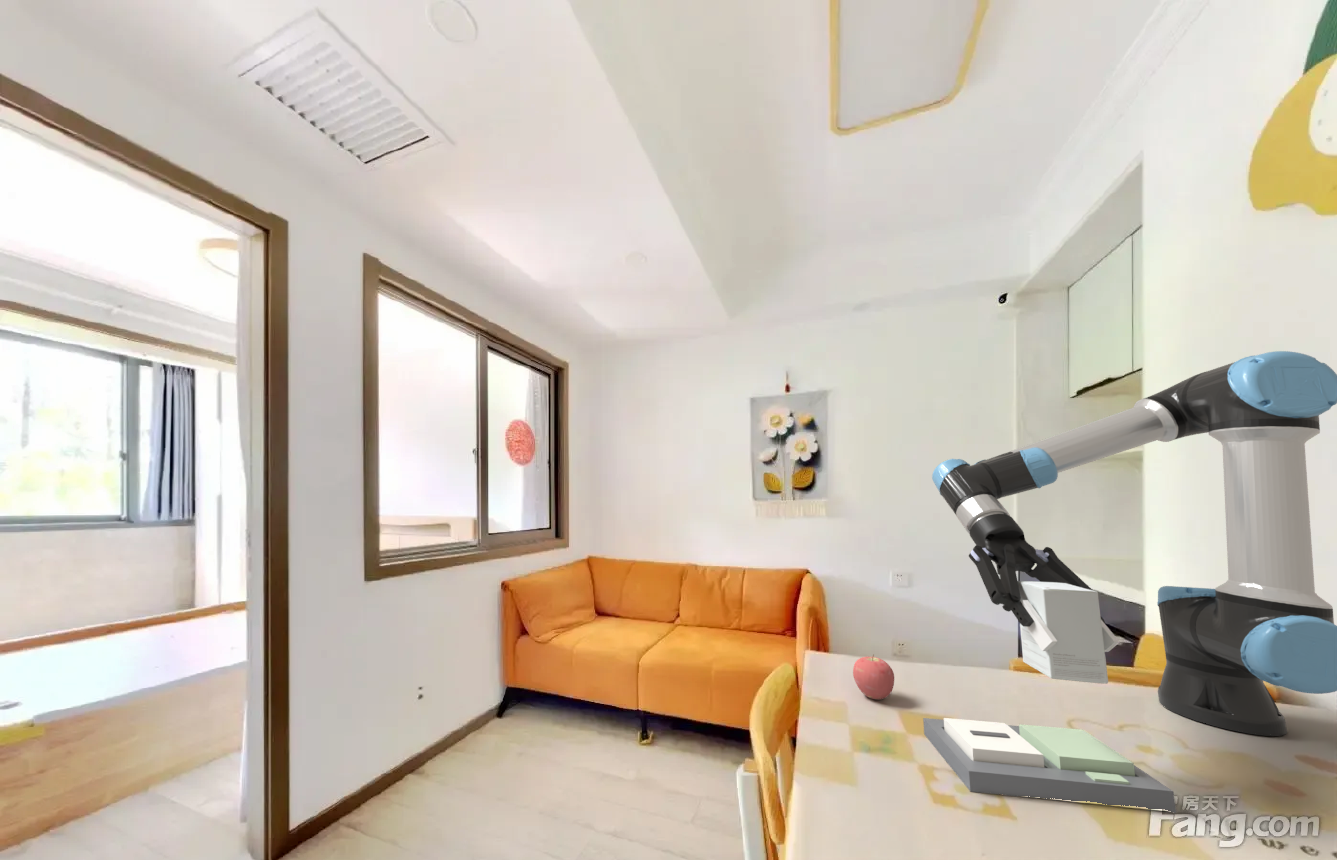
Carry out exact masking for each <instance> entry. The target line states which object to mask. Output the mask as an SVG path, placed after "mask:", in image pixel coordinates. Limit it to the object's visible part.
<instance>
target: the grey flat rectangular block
mask: <svg viewBox="0 0 1337 860" xmlns="http://www.w3.org/2000/svg"><path fill="white" fill-rule="evenodd" d="M922 719H923V734H924V736H925V737H926V738H927V740H928V741H929V742H930V744H932V745H933V747H934V748H935V750H936V751H937V752H938V754H939V755H940V756H941V757H942V758H943V760H944V761H945V762H946V763H947V764H948V766H949V767H950V768H951V770H952V771H953V772H954V773H955V774H956V776H958V778H959V779H960V781H961V782H962V783H963V784H964V786H965V787H966V788H967V789H968V790H969V791H970V793H971V792H973V793H980V794H981V793H982V794H991V795H992V794H993V795H999V794H1001V795H1000V796H1009V797H1010V796H1011V797H1018V796H1028V797H1029V796H1030V797H1040V798H1045V799H1044V800H1047V799H1050V798H1051V799H1052V798H1053V799H1054V798H1055V799H1062V800H1071V801H1086V802H1087V801H1090V802H1097V803H1102V804H1105V805H1106V804H1107V805H1121V806H1122V805H1123V806H1124V805H1125V806H1129V805H1130V806H1136V807H1137V806H1138V807H1146V808H1148V809H1165V810H1168V811H1171V812H1174V813H1173V814H1177V808H1176V807H1177V806H1176V801H1175V793H1174V790H1172V789H1171V788H1169V787H1168V786H1167V785H1165V784H1164V783H1162V782H1160V781H1158V779H1156V778H1154V777H1153V776H1151V775H1150V774H1149V773H1146V772H1145V771H1144V770H1142V769H1141V768H1140V767H1138V766H1136V765H1135V764H1134V771H1135V776H1124V775H1117V774H1107V773H1096V772H1086V771H1085V772H1083V771H1072V770H1062V769H1059V768H1057V767H1056V766H1055V765H1054V764H1053V763H1051V762H1050V761H1049V760H1048V759H1047V758H1045V757H1044V756H1043V754H1042V753H1040V752H1039V751H1038V750H1037V749H1036V748H1034V747H1033V746H1032V745H1031V744H1030V743H1028V742H1027V741H1026V740H1025V739H1024V738H1022V737H1021V736H1020V731H1019V725H1013V724H1012V725H1009V724H1007V723H1006V722H996V721H986V720H985V721H984V720H975V719H974V720H973V719H972V720H971V719H961V718H951V717H949V718H948V717H943V719H939V718H927V717H923V718H922ZM1002 794H1003V795H1002ZM1028 797H1027V798H1028ZM1046 798H1047V799H1046Z"/></svg>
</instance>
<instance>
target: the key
mask: <svg viewBox="0 0 1337 860" xmlns="http://www.w3.org/2000/svg"><path fill="white" fill-rule="evenodd" d="M1018 726H1019V731H1020V736H1021V737H1022V738H1024V739H1025V740H1026V741H1027V742H1028V743H1030V744H1031V745H1032V746H1033V747H1034V748H1036V749H1037V750H1038V751H1039V752H1040V753H1042V754H1043V756H1044V757H1045V758H1047V759H1048V760H1049V761H1050V762H1051V763H1053V764H1054V765H1055V766H1056V767H1057V768H1059V769H1062V770H1072V771H1083V772H1085V771H1086V772H1096V773H1107V774H1117V775H1124V776H1135V771H1134V765H1135V764H1134V762H1132V760H1129V759H1128V758H1127V757H1125V756H1123V755H1122V754H1120V753H1119V752H1118V751H1116V750H1114V749H1113V748H1112V747H1110V746H1108V745H1107V744H1105V742H1103V741H1101V740H1100V739H1098V738H1096V737H1095V736H1094V735H1092V734H1090V733H1089V732H1087V731H1086V730H1085V729H1080V728H1079V729H1078V728H1067V727H1055V726H1046V725H1045V726H1044V725H1032V724H1031V725H1030V724H1020V723H1019V724H1018Z"/></svg>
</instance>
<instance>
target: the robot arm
mask: <svg viewBox="0 0 1337 860" xmlns="http://www.w3.org/2000/svg"><path fill="white" fill-rule="evenodd" d="M1335 405H1337V373H1336V372H1335V371H1334V369H1332V368H1331V367H1330V366H1329V365H1328V364H1327V363H1325V362H1321V361H1319V360H1317V358H1316V357H1313V356H1311V355H1309V354H1304V353H1301V352H1296V351H1288V350H1287V351H1286V350H1285V351H1284V350H1283V351H1282V350H1278V351H1277V350H1276V351H1269V352H1264V353H1260V354H1256V355H1249V356H1244V357H1243V358H1239V359H1238V360H1236V361H1234V362H1231V363H1228V364H1225V365H1222V366H1220V367H1219V366H1218V367H1216V368H1213V369H1211V370H1206V371H1204V372H1200V373H1198V374H1195V375H1192V376H1191V377H1189V378H1186V379H1184V380H1182V381H1180V382H1178V383H1175V384H1174V385H1172V386H1169V387H1168V388H1166V389H1164V390H1161V391H1159V392H1157V393H1154V394H1152V395H1149V396H1147V397H1144V398H1141V399H1139V400H1137V401H1136V402H1135V403H1134V405H1133V407H1131V408H1128V409H1124V410H1123V411H1120V412H1116V413H1113V414H1112V415H1109V416H1106V417H1105V416H1104V417H1103V418H1100V419H1097V420H1095V421H1094V420H1093V421H1091V422H1089V423H1086V424H1083V425H1080V426H1077V427H1074V428H1072V429H1069V430H1067V431H1066V430H1065V431H1063V432H1059V433H1058V434H1055V435H1052V436H1049V437H1047V438H1044V439H1042V440H1038V441H1035V442H1032V443H1030V444H1027V445H1024V446H1022V447H1018V448H1016V449H1013V450H1011V451H1008V452H1005V453H1001V454H999V455H996V456H992V457H991V458H987V459H982V460H979V461H977V462H976V463H973V464H972V465H971V464H970V463H968V462H967V461H965V460H963V459H962V458H950V459H947V460H945V461H942V462H940V463H939V464H938V465H937V466H936V467H935V468H934V470H933V472H932V475H931V478H932V481H933V483H934V485H935V487H936V488H937V490H938V492H939V495H940V496H941V497H942V498H943V500H945V502H946V503H947V505H948V506H949V508H950V509H951V510H952V512H953V513H954V514H955V516H956V518H957V519H958V520H959V522H960V523H961V525H962V526H963V528H964V530H965V531H966V532H967V533H968V534H969V536H970V538H971V540H972V541H973V542H974V544H975V545H974V547H973V548H972V549H971V551H970V552H969V554H968V557H969V559H970V561H972V562H973V565H975V566H976V568H977V572H978V573H979V575H980V578H981V581H982V583H983V585H984V587H985V589H986V592H987V594H988V596H989V598H990V601H991V603H992V604H993V605H996V606H999V605H1002V609H1003V610H1004V611H1006V612H1012V614H1013V616H1014V617H1015V618H1016V620H1017V621H1018V622H1019V625H1020V624H1021V625H1022V626H1026V628H1027V629H1028V631H1029V632H1030V634H1031V635H1032V637H1033V638H1034V640H1035V641H1036V642H1037V644H1038V645H1039V647H1040V648H1041V650H1042V651H1048V650H1049V649H1050V648H1051V647H1052V646H1053V645H1054V644H1055V643H1056V642H1057V640H1056V638H1055V637H1054V636H1053V634H1052V633H1051V631H1050V630H1049V629H1048V627H1047V626H1046V625H1045V623H1044V622H1043V620H1042V619H1041V618H1040V616H1039V615H1038V613H1037V612H1036V611H1035V609H1034V608H1033V606H1032V605H1031V604H1030V602H1029V601H1028V600H1023V601H1022V602H1021V601H1020V600H1021V596H1020V591H1019V586H1018V581H1019V580H1018V577H1017V572H1023V573H1024V574H1026V575H1027V576H1029V577H1030V578H1035V579H1036V580H1038V582H1056V583H1067V584H1070V585H1074V586H1078V587H1081V588H1085V589H1089V590H1093V589H1092V588H1091V587H1090V586H1089V585H1088V584H1087V583H1086V582H1084V580H1083V579H1081V578H1080V577H1079V576H1078V575H1077V574H1076V573H1075V572H1074V571H1073V570H1072V569H1071V568H1070V567H1068V566H1067V565H1066V563H1064V562H1063V561H1062V560H1061V559H1060V558H1059V557H1058V556H1057V554H1056V553H1055V551H1054V550H1053V549H1052V548H1051V547H1048V546H1045V547H1044V548H1043V549H1038V548H1036V547H1034V546H1033V545H1031V544H1030V543H1028V542H1027V540H1026V538H1025V533H1024V531H1023V529H1022V528H1021V527H1020V525H1019V524H1018V523H1017V522H1016V520H1015V519H1014V518H1013V517H1012V516H1011V515H1010V514H1009V512H1008V511H1007V509H1006V508H1005V507H1004V505H1003V504H1002V503H1001V502H1000V501H999V499H1001V498H1005V497H1009V496H1012V495H1016V494H1020V493H1024V492H1027V491H1033V490H1035V489H1041V488H1042V487H1045V486H1048V485H1051V484H1054V483H1055V482H1056V481H1058V478H1059V477H1058V476H1059V473H1062V472H1065V471H1068V470H1071V469H1074V468H1077V467H1080V466H1083V465H1086V464H1089V463H1093V462H1096V461H1098V460H1102V459H1104V458H1107V457H1110V456H1114V455H1116V454H1120V453H1123V452H1126V451H1128V450H1131V449H1135V448H1138V447H1140V446H1143V445H1147V444H1149V443H1152V442H1156V441H1159V442H1163V443H1169V442H1173V441H1175V440H1178V439H1181V438H1184V437H1185V438H1186V437H1189V436H1195V435H1199V434H1200V435H1201V434H1205V433H1206V434H1207V433H1208V436H1210V437H1212V438H1213V439H1215V440H1217V441H1218V442H1220V444H1221V445H1222V463H1223V464H1222V467H1223V488H1224V490H1223V491H1224V510H1225V511H1224V512H1225V529H1226V531H1225V532H1226V533H1225V535H1226V551H1227V552H1226V553H1227V555H1226V556H1227V557H1226V558H1227V574H1228V576H1227V577H1228V579H1227V580H1226V582H1224V583H1222V584H1220V585H1218V586H1216V587H1215V588H1205V587H1192V586H1174V585H1164V586H1163V585H1162V586H1161V587H1159V588H1158V590H1157V602H1156V603H1157V606H1158V611H1159V617H1160V618H1159V619H1160V625H1161V634H1162V639H1163V646H1164V653H1165V661H1166V665H1165V667H1164V670H1163V674H1162V677H1161V681H1160V685H1159V686H1158V688H1157V694H1158V695H1157V696H1158V702H1159V704H1160V703H1161V704H1162V705H1163V707H1164V706H1165V707H1166V709H1167V708H1168V709H1167V710H1169V711H1171V712H1173V713H1175V714H1178V715H1180V716H1182V717H1185V718H1187V719H1191V720H1193V721H1196V722H1199V723H1202V722H1203V724H1205V723H1206V725H1210V726H1214V727H1217V728H1220V729H1223V730H1224V729H1225V730H1230V731H1234V732H1238V733H1243V734H1249V735H1257V736H1265V737H1266V736H1268V737H1280V736H1285V735H1287V733H1288V730H1287V724H1286V720H1285V719H1286V718H1285V717H1284V715H1283V713H1281V712H1280V711H1279V709H1278V707H1277V704H1276V702H1275V700H1274V699H1273V697H1272V695H1271V693H1270V692H1269V690H1268V688H1267V687H1266V685H1265V683H1264V682H1266V683H1268V684H1270V685H1273V686H1275V687H1276V686H1277V687H1283V688H1286V689H1289V690H1291V691H1294V692H1300V693H1304V694H1315V695H1317V694H1318V695H1319V694H1330V693H1335V692H1337V625H1336V624H1335V620H1334V609H1333V605H1332V604H1330V603H1329V602H1327V601H1326V600H1325V599H1324V598H1322V597H1320V596H1319V595H1318V594H1317V593H1316V588H1315V587H1316V586H1315V578H1314V577H1315V576H1314V575H1315V574H1314V561H1313V560H1314V559H1313V545H1312V531H1311V516H1310V505H1309V504H1310V503H1309V489H1308V475H1307V474H1308V473H1307V460H1306V445H1305V444H1306V443H1307V442H1308V441H1310V440H1311V439H1312V438H1314V437H1316V436H1318V435H1319V434H1320V433H1321V429H1320V415H1322V414H1324V413H1326V412H1327V411H1329V410H1331V408H1332V407H1333V406H1335ZM994 564H995V565H996V568H995V565H994ZM1035 564H1036V566H1035ZM1034 566H1035V567H1034ZM1033 567H1034V568H1033ZM1105 623H1106V622H1105V619H1104V618H1103V617H1102V616H1101V624H1102V633H1103V641H1104V650H1105V653H1109V652H1110V651H1111V650H1112V649H1114V648H1115V647H1116V646H1117V645H1118V644H1119V643H1121V642H1120V640H1119V639H1118V638H1117V636H1115V634H1114V633H1113V632H1112V631H1111V629H1110V628H1109V627H1108V626H1107V625H1106V624H1105ZM1161 704H1160V705H1161ZM1162 705H1161V706H1162ZM1165 707H1164V708H1165Z"/></svg>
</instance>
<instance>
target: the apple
mask: <svg viewBox="0 0 1337 860" xmlns="http://www.w3.org/2000/svg"><path fill="white" fill-rule="evenodd" d="M852 669H853V670H852V675H853V679H854V682H855V684H856V685H857V687H858V689H859V690H860V692H861V693H862V694H863V695H864V696H865V697H867V698H869V699H873V700H877V701H878V700H879V701H880V700H884V699H886V698H887V697H889V695H890V694H891V693H892V691H893V689H894V685H895V673H894V671H893V670H894V669H892V667H891V665H889V663H887V662H886V661H885V660H884V659H882V658H879V657H875V654H872V656H862V657H860V658H858V659H857V660H856V661H855V662H854V664H853V668H852Z"/></svg>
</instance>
